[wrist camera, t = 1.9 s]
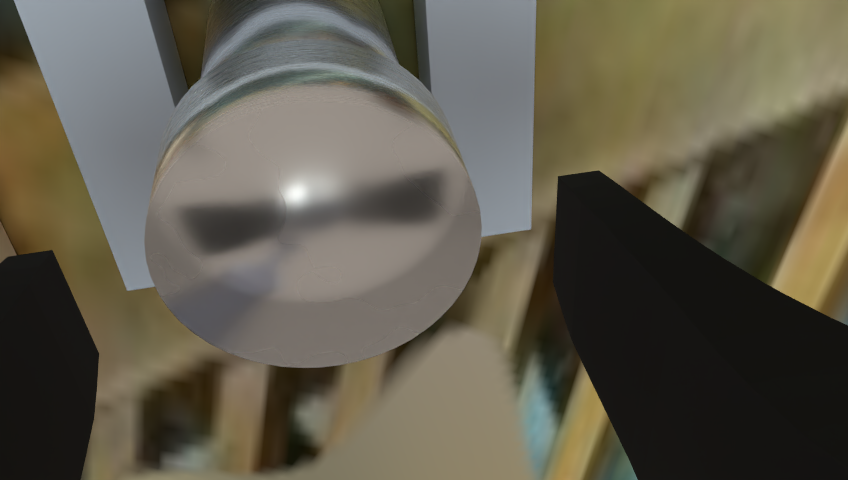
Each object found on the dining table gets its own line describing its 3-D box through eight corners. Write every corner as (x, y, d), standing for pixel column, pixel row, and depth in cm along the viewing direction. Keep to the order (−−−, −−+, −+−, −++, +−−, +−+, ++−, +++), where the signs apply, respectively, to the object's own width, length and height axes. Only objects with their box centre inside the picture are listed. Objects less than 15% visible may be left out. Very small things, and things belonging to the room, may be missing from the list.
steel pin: (413, 116, 20) (484, 341, 14) (212, 144, 20) (190, 389, 13) (397, -92, 17) (478, 78, 11) (156, -64, 17) (97, 129, 10)
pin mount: (511, 185, 22) (531, 229, 20) (136, 240, 21) (127, 291, 19) (513, -239, 16) (541, -222, 14) (-18, -185, 15) (-50, -163, 13)
